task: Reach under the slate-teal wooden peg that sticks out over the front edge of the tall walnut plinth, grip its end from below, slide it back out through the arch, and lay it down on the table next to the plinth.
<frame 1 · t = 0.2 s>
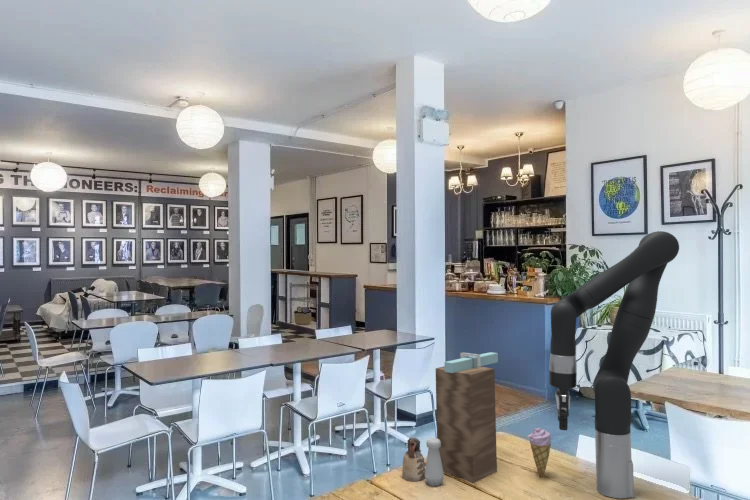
hand: (562, 425, 150), 17 cm above the table, tool pointing down, fingers open, 8 cm apart
salt shaker: (434, 483, 153), on the table
peg: (472, 366, 165), point 32 cm above the table, touching plinth
arch: (470, 360, 165), on the plinth, point 34 cm above the table
ice cream cone: (540, 476, 157), on the table
figurine: (414, 477, 158), on the table
plinth: (467, 470, 162), on the table
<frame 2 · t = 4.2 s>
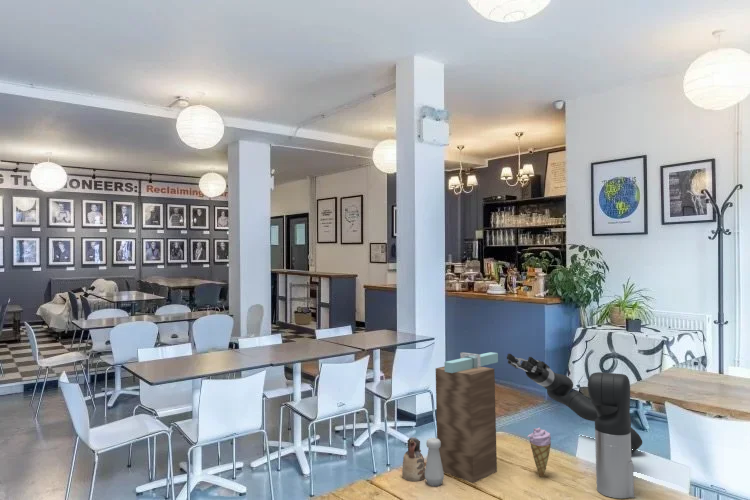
hand: (518, 357, 183), 31 cm above the table, tool pointing upward, fingers open, 8 cm apart
nothing on the table moved.
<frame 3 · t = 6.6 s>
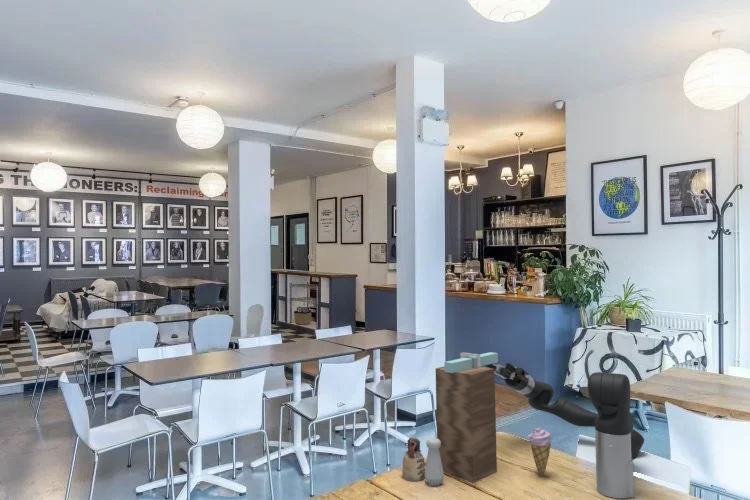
hand: (496, 363, 175), 31 cm above the table, tool pointing upward, fingers open, 8 cm apart
nothing on the table moved.
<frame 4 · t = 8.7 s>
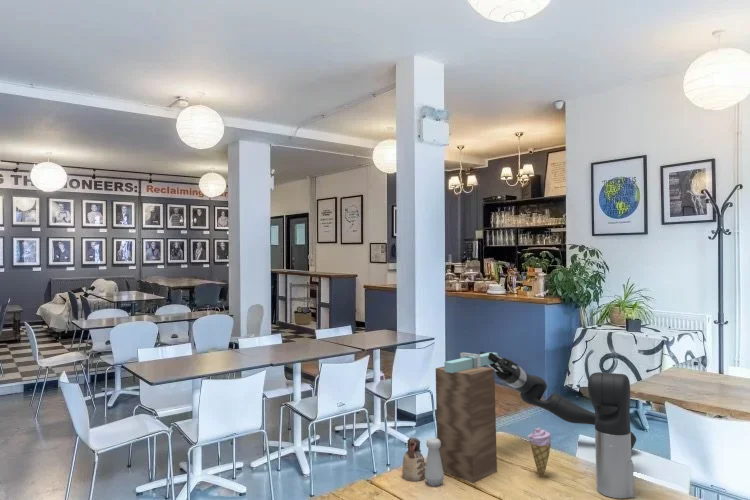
hand: (485, 354, 170), 35 cm above the table, tool pointing upward, fingers closed on peg, 3 cm apart
peg: (472, 366, 165), point 32 cm above the table, touching gripper, plinth
everything else where it was.
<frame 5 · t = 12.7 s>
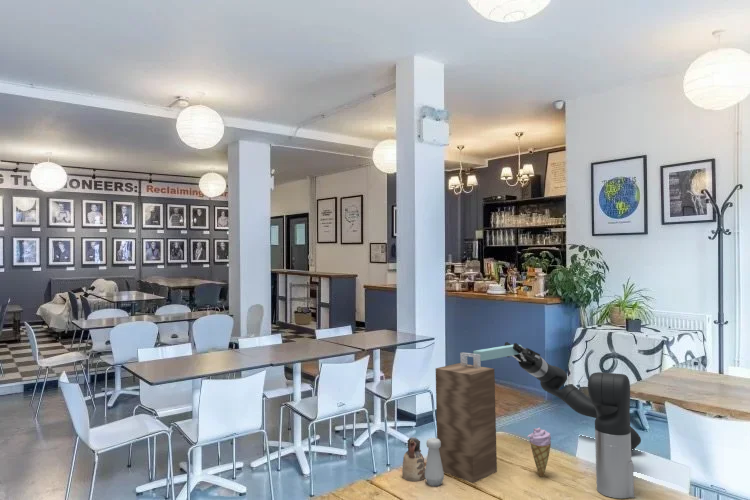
hand: (509, 345, 180), 36 cm above the table, tool pointing upward, fingers closed on peg, 3 cm apart
peg: (498, 356, 176), point 33 cm above the table, touching gripper
everything else where it was.
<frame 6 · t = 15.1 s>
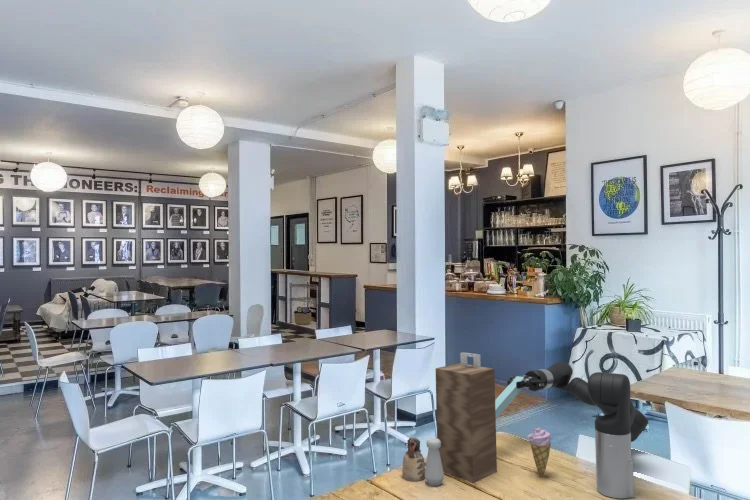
hand: (512, 384, 181), 22 cm above the table, tool horizontal, fingers closed on peg, 3 cm apart
peg: (505, 403, 178), point 17 cm above the table, tilted 25°, touching gripper
everything else where it was.
when the fingers open (14 cm above the table, at t = 16.9 s): peg drops 9 cm, on the table.
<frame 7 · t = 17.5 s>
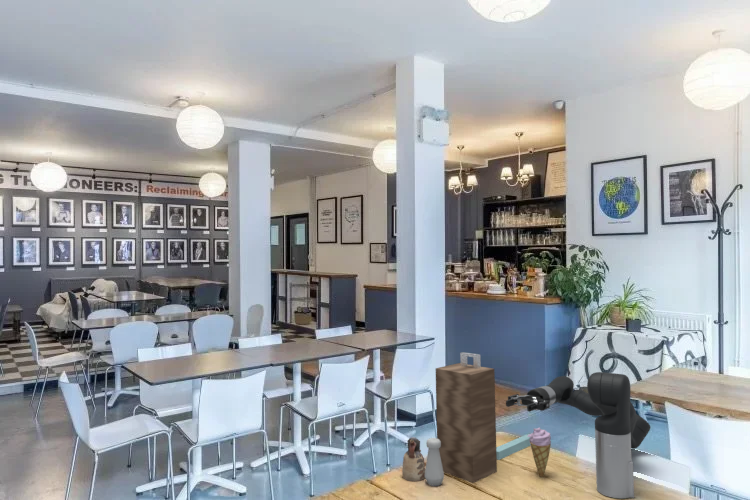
hand: (517, 406, 182), 15 cm above the table, tool horizontal, fingers open, 8 cm apart
peg: (515, 450, 179), on the table
everything else where it was.
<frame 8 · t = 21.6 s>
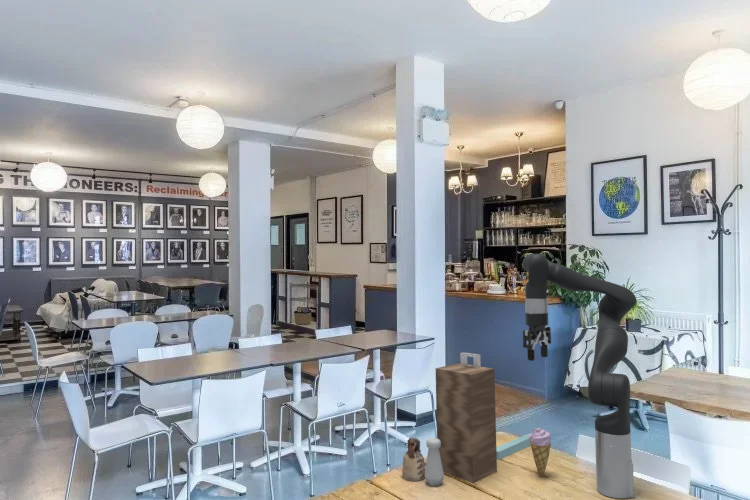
hand: (537, 358, 177), 32 cm above the table, tool pointing down, fingers open, 8 cm apart
nothing on the table moved.
at the end: peg inside the target area (4.6 cm from its centre), on the table; peg touching table; the gripper is holding nothing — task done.
